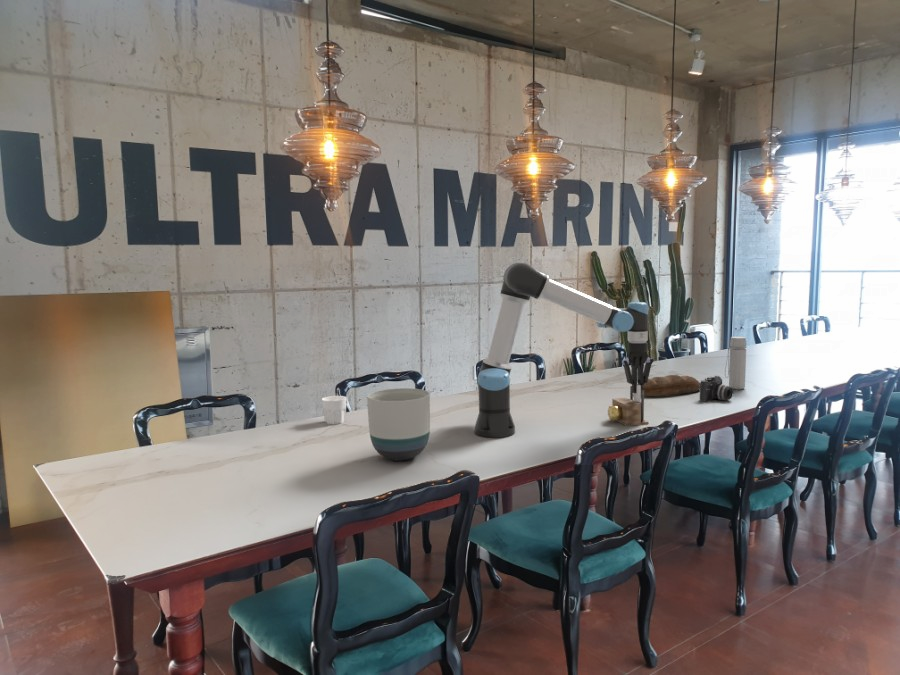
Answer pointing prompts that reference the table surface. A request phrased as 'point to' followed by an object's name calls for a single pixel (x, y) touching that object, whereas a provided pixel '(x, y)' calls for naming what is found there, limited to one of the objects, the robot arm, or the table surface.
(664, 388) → the bread
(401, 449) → the planter
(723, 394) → the camera
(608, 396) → the table surface
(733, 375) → the water bottle
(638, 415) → the block
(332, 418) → the cup
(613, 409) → the pin
